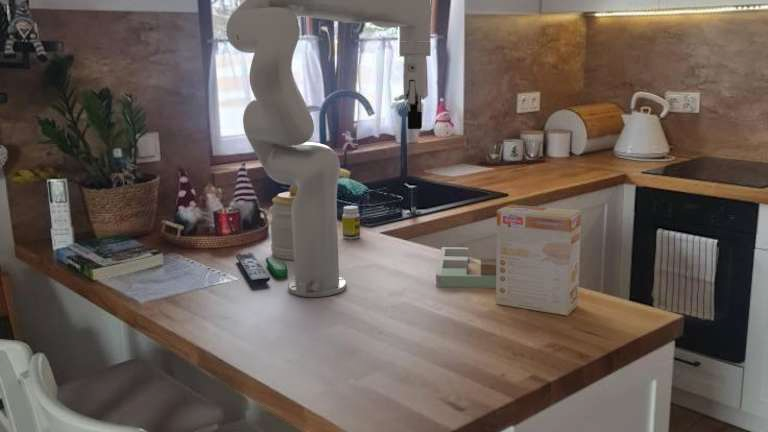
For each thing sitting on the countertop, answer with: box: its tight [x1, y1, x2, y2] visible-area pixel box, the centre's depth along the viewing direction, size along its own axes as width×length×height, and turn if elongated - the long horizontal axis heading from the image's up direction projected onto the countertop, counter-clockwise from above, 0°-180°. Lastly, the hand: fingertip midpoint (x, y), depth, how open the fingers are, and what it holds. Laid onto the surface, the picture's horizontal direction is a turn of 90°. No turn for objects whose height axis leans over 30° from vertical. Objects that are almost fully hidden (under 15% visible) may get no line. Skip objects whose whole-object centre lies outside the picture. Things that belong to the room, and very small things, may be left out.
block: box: [480, 257, 496, 275], centre depth 165 cm, size 5×5×5 cm
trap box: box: [435, 246, 496, 289], centre depth 174 cm, size 23×18×2 cm
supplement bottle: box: [341, 205, 361, 240], centre depth 206 cm, size 5×5×8 cm
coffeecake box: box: [495, 204, 582, 317], centre depth 149 cm, size 15×7×20 cm, turn 59°
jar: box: [268, 185, 298, 261], centre depth 190 cm, size 13×13×18 cm
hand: (414, 128), depth 181 cm, fingers closed
